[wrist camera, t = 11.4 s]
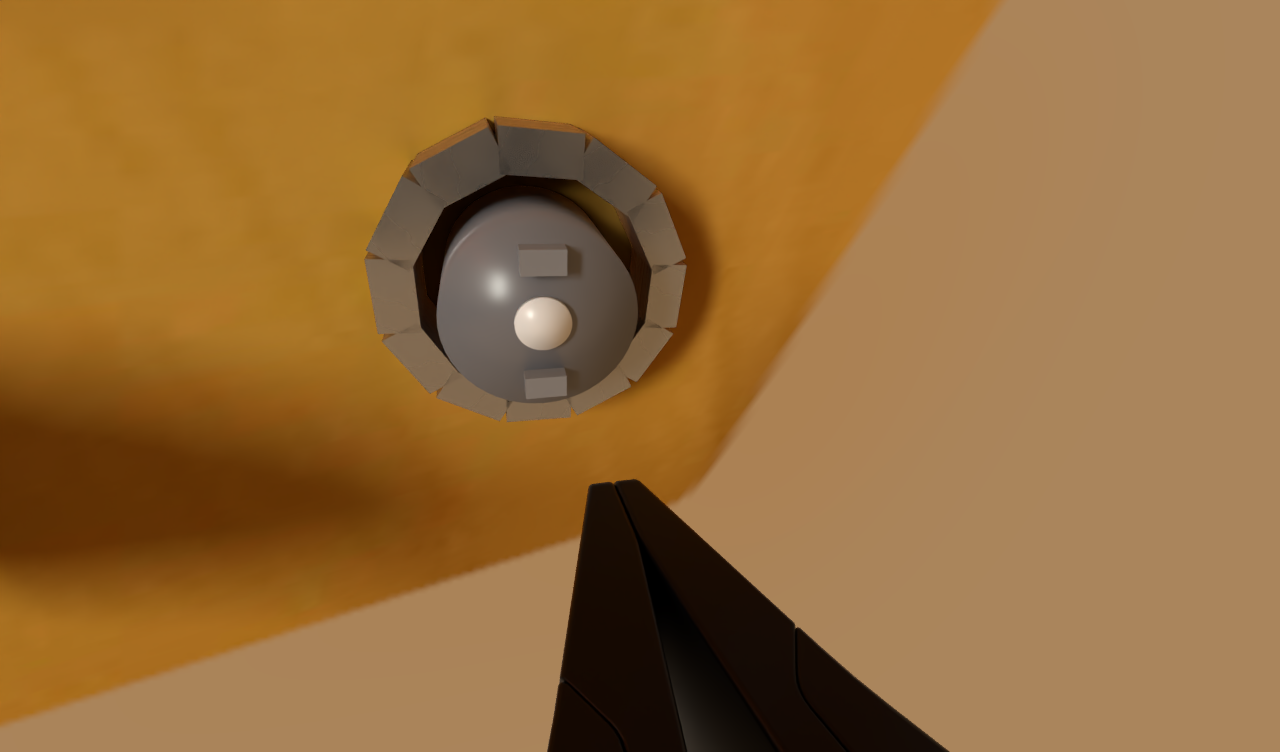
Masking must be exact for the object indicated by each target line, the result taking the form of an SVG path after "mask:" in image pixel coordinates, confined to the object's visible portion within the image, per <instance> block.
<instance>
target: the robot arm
mask: <svg viewBox="0 0 1280 752" xmlns="http://www.w3.org/2000/svg"><path fill="white" fill-rule="evenodd" d="M547 752H949V751H948V750H947V749H945V748H944V747H943V746H942V745H940V744H939V743H938V742H936V741H935V740H934V739H933V738H931V737H930V736H929V735H927V734H926V733H925V732H924V731H922V730H921V729H920V728H918V727H917V726H916V725H915V724H913V723H912V722H911V721H909V720H908V719H907V718H905V717H904V716H903V715H902V714H900V713H899V712H898V711H897V710H895V709H894V708H893V707H891V706H890V705H889V704H888V703H886V702H885V701H884V700H883V699H881V698H880V697H879V696H878V695H877V694H875V693H874V692H873V691H872V690H871V689H869V688H868V687H867V686H866V685H864V684H863V683H862V682H861V681H859V680H858V679H857V678H856V677H854V676H853V675H852V674H851V673H850V672H849V671H848V670H846V669H845V668H844V667H843V666H842V665H841V664H840V663H838V662H837V661H836V660H835V659H834V658H833V657H832V656H830V655H829V654H828V653H827V652H826V651H825V650H824V649H823V648H821V647H820V646H819V645H818V644H817V643H816V642H815V641H814V640H813V639H812V638H810V637H809V636H808V635H807V634H806V633H805V632H804V631H803V630H802V629H800V628H798V627H797V628H795V624H794V622H793V621H792V620H791V619H789V618H788V617H787V616H786V615H785V614H784V613H783V612H782V611H780V609H778V608H777V607H776V606H775V605H774V604H773V603H772V602H771V601H770V600H769V599H768V598H766V597H765V596H764V595H763V594H762V593H761V592H760V591H759V590H758V589H757V588H756V587H755V586H753V585H752V584H751V583H750V582H749V581H748V580H747V579H746V578H745V577H744V576H743V575H741V574H740V573H739V572H738V571H737V570H736V569H735V568H734V567H733V566H732V565H731V564H729V563H728V562H727V561H726V560H725V559H724V558H723V557H722V556H721V555H720V554H719V553H717V552H716V551H715V550H714V549H713V548H712V547H711V546H710V545H709V544H708V543H706V542H705V541H704V540H703V539H702V538H701V537H700V536H699V535H698V534H697V533H696V532H695V531H694V530H692V529H691V528H690V527H689V526H688V525H687V524H686V523H685V522H684V521H682V520H681V519H680V518H679V517H678V516H677V515H676V514H675V513H674V512H673V511H672V510H670V508H668V507H667V506H666V505H665V504H664V503H663V502H662V501H661V500H660V499H659V498H658V497H656V496H655V495H654V494H653V493H652V492H651V491H650V490H649V489H648V488H647V487H646V486H644V485H643V484H642V483H641V482H640V481H638V480H636V479H632V480H623V481H617V482H615V483H614V484H613V483H611V482H605V483H597V484H591V485H590V486H589V488H588V495H587V501H586V508H585V514H584V521H583V528H582V534H581V541H580V548H579V554H578V561H577V567H576V574H575V581H574V587H573V594H572V601H571V607H570V615H569V620H568V628H567V634H566V640H565V647H564V654H563V660H562V667H561V674H560V684H559V685H558V691H557V698H556V704H555V711H554V717H553V723H552V728H551V734H550V739H549V744H548V750H547Z"/></svg>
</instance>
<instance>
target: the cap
mask: <svg viewBox="0 0 1280 752" xmlns="http://www.w3.org/2000/svg"><path fill="white" fill-rule="evenodd" d="M436 316H437V328H438V332H439V337H440V340H441V343H442V345H443V348H444V350H445V352H446V354H447V356H448V357H449V359H450V361H451V362H452V364H453V365H454V366H455V367H456V369H457V370H458V371H459V372H460V373H461V374H462V375H463V376H464V377H465V378H466V379H467V380H468V381H470V382H471V383H472V384H474V385H475V386H476V387H478V388H480V389H482V390H483V391H485V392H487V393H489V394H492V395H494V396H496V397H499V398H503V399H506V400H509V401H515V402H520V403H548V402H555V401H560V400H564V399H568V398H570V397H573V396H576V395H578V394H581V393H583V392H585V391H587V390H589V389H590V388H592V387H593V386H595V385H597V384H598V383H600V382H601V381H602V380H603V379H605V378H606V377H607V376H608V375H609V374H610V373H611V372H612V371H613V370H614V369H615V368H616V367H617V366H618V364H619V363H620V362H621V360H622V359H623V357H624V356H625V354H626V352H627V351H628V349H629V347H630V344H631V342H632V340H633V337H634V333H635V330H636V325H637V319H638V304H637V295H636V292H635V288H634V284H633V282H632V279H631V277H630V275H629V273H628V271H627V269H626V268H625V266H624V264H623V263H622V261H621V260H620V259H619V257H618V256H617V255H616V253H615V252H614V251H613V249H612V248H611V247H610V245H609V244H608V243H607V241H606V240H605V238H604V237H603V236H602V234H601V233H600V232H599V230H598V229H597V228H596V226H595V225H594V224H593V222H592V221H591V220H590V218H589V217H588V216H587V215H586V214H585V212H584V211H583V210H582V209H580V208H579V207H578V206H577V205H576V204H575V203H573V202H572V201H571V200H569V199H568V198H566V197H564V196H562V195H560V194H558V193H556V192H553V191H551V190H548V189H544V188H540V187H533V186H512V187H506V188H502V189H498V190H495V191H492V192H490V193H488V194H486V195H484V196H482V197H480V198H479V199H477V200H476V201H474V202H473V203H472V204H471V205H470V206H468V207H467V208H466V209H465V210H464V211H463V212H462V214H461V215H460V216H459V217H458V219H457V220H456V222H455V224H454V225H453V227H452V229H451V231H450V234H449V236H448V239H447V243H446V247H445V253H444V260H443V267H442V274H441V281H440V288H439V295H438V302H437V313H436Z"/></svg>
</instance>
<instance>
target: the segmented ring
mask: <svg viewBox="0 0 1280 752" xmlns="http://www.w3.org/2000/svg"><path fill="white" fill-rule="evenodd" d="M494 125H495V134H494V132H493V131H492V129H491V127H490V125H489V123H488V122H487V120H486V118H484V119H482V120H480V121H479V122H477V123H475V124H473V125H471V126H469V127H467V128H465V129H463V130H462V131H460V132H458V133H456V134H454V135H452V136H450V137H448V138H446V139H445V140H443V141H441V142H439V143H437V144H435V145H433V146H431V147H429V148H428V149H426V150H424V151H422V152H420V153H418V154H417V156H416V157H415V159H414V161H413V160H411V162H410V164H409V165H408V167H407V168H406V170H405V172H404V173H403V175H402V177H401V179H400V181H399V183H398V185H397V187H396V189H395V191H394V193H393V195H392V197H391V199H390V202H389V204H388V206H387V208H386V210H385V212H384V214H383V216H382V218H381V220H380V222H379V224H378V226H377V228H376V230H375V232H374V234H373V236H372V238H371V240H370V242H369V244H368V247H367V249H366V251H368V254H367V256H366V257H365V264H366V270H367V276H368V281H369V287H370V292H371V298H372V303H373V309H374V314H375V320H376V325H377V331H378V334H384V336H383V339H382V342H383V343H384V344H385V345H386V346H387V347H388V349H389V350H390V351H391V352H392V353H393V354H394V355H395V356H396V357H397V358H398V359H399V361H400V362H401V363H402V364H403V365H404V366H405V367H406V368H407V369H408V370H409V371H410V372H411V374H412V375H413V376H414V377H415V378H416V379H417V380H418V381H419V382H420V383H421V384H422V386H423V387H424V388H425V389H426V390H427V391H428V392H429V393H432V392H434V391H436V390H437V398H438V399H441V400H443V401H446V402H449V403H452V404H454V405H457V406H460V407H463V408H465V409H468V410H471V411H474V412H476V413H479V414H482V415H485V416H487V417H490V418H493V419H496V420H498V421H500V420H501V418H502V417H503V415H504V414H505V412H506V416H507V422H513V421H526V420H540V419H553V418H566V417H571V407H572V408H573V410H574V411H575V412H576V414H577V415H579V414H581V413H582V412H584V411H586V410H588V409H590V408H592V407H594V406H596V405H598V404H599V403H601V402H603V401H605V400H607V399H609V398H611V397H613V396H614V395H616V394H618V393H620V392H622V391H624V390H626V389H628V388H630V387H631V385H630V383H629V381H628V378H629V379H631V380H633V381H636V382H637V381H638V380H639V378H640V377H641V376H642V374H643V373H644V372H645V370H646V369H647V368H648V367H649V365H650V364H651V363H652V361H653V360H654V359H655V357H656V356H657V355H658V353H659V352H660V351H661V349H662V348H663V347H664V345H665V344H666V343H667V341H668V340H669V339H670V337H671V336H672V335H673V333H672V331H671V330H670V329H669V328H671V327H676V325H677V320H678V314H679V308H680V302H681V296H682V290H683V284H684V278H685V273H686V267H687V265H686V264H685V263H684V262H683V261H682V260H683V259H685V258H686V256H685V254H684V251H683V248H682V246H681V243H680V240H679V238H678V235H677V232H676V230H675V227H674V224H673V222H672V219H671V216H670V214H669V211H668V208H667V206H666V203H665V200H664V198H663V195H662V193H661V192H660V191H658V190H657V189H655V188H656V187H657V186H656V185H655V184H653V183H652V182H651V181H650V180H648V179H647V178H646V177H644V176H643V175H642V174H641V173H639V172H638V171H637V170H635V169H634V168H633V167H632V166H630V165H629V164H628V163H626V162H625V161H624V160H623V159H621V158H620V157H619V156H617V155H616V154H615V153H614V152H612V151H611V150H610V149H608V148H607V147H606V146H605V145H603V144H602V143H601V142H599V141H598V140H597V139H596V138H594V137H593V136H591V135H589V134H588V133H586V132H585V131H583V130H582V129H580V128H578V129H577V128H576V127H574V126H572V125H571V124H564V123H555V122H545V121H535V120H526V119H516V118H507V117H497V116H494ZM505 175H516V176H530V177H544V178H558V179H572V180H577V181H579V182H580V183H582V184H583V185H584V186H586V187H587V188H589V189H590V190H592V191H593V192H594V193H596V194H597V195H599V196H600V197H601V198H603V199H604V200H606V201H607V202H609V203H610V204H611V205H613V206H614V208H615V210H616V212H617V214H618V216H619V219H620V221H621V223H622V225H623V228H624V230H625V232H626V234H627V237H628V239H629V241H630V243H631V246H632V251H631V260H630V269H629V275H630V277H631V279H632V282H633V284H634V288H635V292H636V295H637V304H638V319H637V325H636V330H635V333H634V337H633V340H632V342H631V344H630V347H629V349H628V351H627V352H626V354H625V356H624V357H623V359H622V360H621V362H620V363H619V364H618V366H617V367H616V368H615V369H614V370H613V371H612V372H611V373H610V374H609V375H608V376H607V377H606V378H605V379H603V380H602V381H601V382H600V383H598V384H597V385H595V386H593V387H592V388H590V389H589V390H587V391H585V392H583V393H581V394H578V395H576V396H573V397H570V398H568V399H564V400H560V401H555V402H548V403H520V402H515V401H509V400H506V399H503V398H499V397H496V396H494V395H492V394H489V393H487V392H485V391H483V390H482V389H480V388H478V387H476V386H475V385H474V384H472V383H471V382H470V381H468V380H467V379H466V378H465V377H464V376H463V375H462V374H461V373H460V372H459V371H458V370H457V369H456V367H455V366H454V365H453V364H452V362H451V361H450V359H449V357H448V356H447V354H446V352H445V350H444V348H443V345H442V343H441V340H440V337H439V332H438V328H437V316H436V313H437V308H436V306H435V305H434V304H433V303H432V301H431V300H430V299H429V297H428V296H427V292H426V283H425V275H424V266H423V258H422V248H423V247H424V245H425V243H426V241H427V239H428V237H429V235H430V233H431V231H432V230H433V228H434V226H435V224H436V222H437V220H438V218H439V216H440V214H441V212H442V211H443V209H444V208H445V207H447V206H448V205H450V204H452V203H454V202H456V201H458V200H460V199H462V198H464V197H465V196H467V195H469V194H471V193H473V192H475V191H477V190H479V189H481V188H482V187H484V186H486V185H488V184H490V183H492V182H494V181H496V180H498V179H499V178H501V177H503V176H505Z"/></svg>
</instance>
